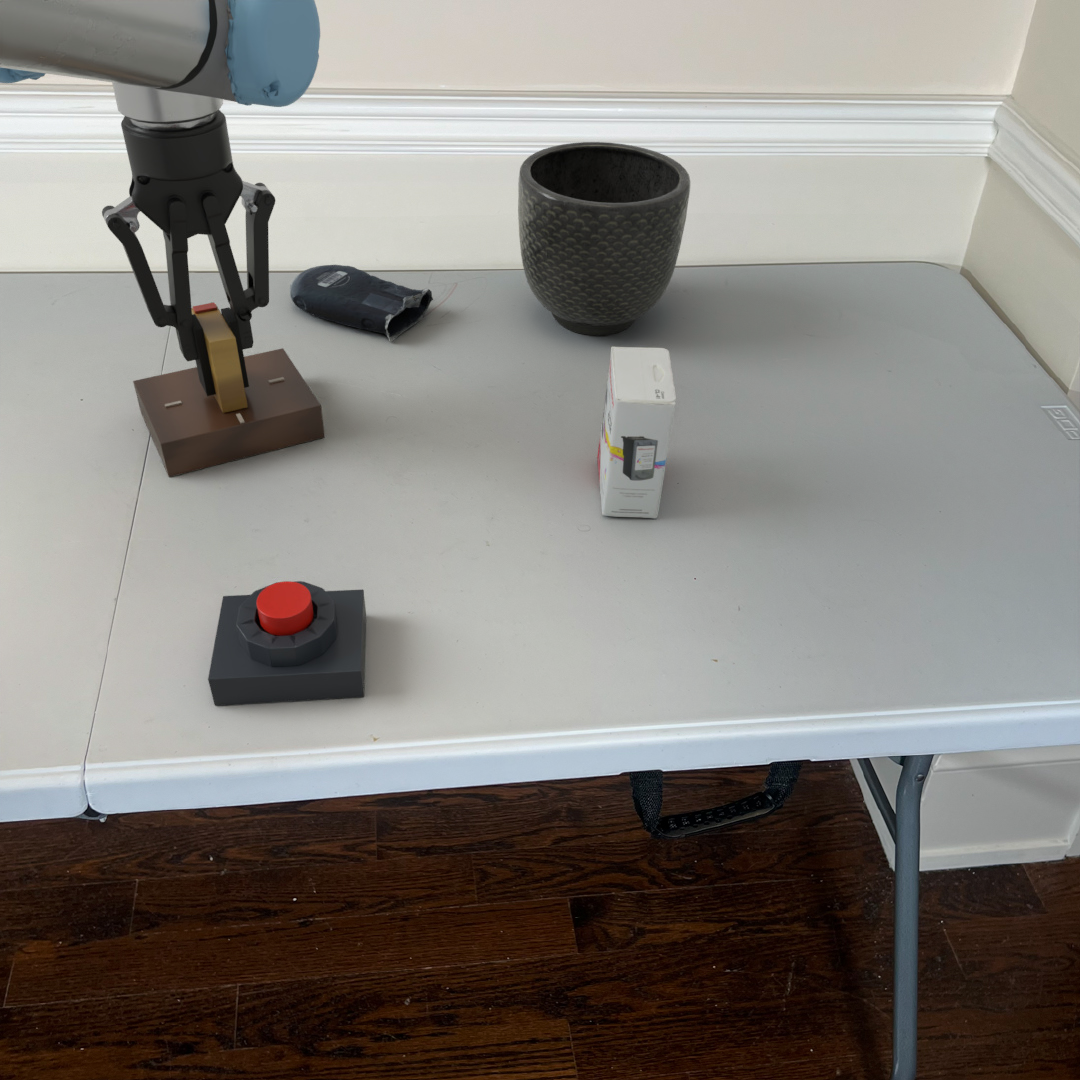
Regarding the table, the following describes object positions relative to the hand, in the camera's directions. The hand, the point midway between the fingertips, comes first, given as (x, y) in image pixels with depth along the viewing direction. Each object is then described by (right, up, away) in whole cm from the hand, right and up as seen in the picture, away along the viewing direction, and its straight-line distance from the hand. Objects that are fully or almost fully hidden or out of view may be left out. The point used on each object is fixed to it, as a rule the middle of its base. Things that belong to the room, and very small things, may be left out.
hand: (224, 383), depth 92 cm
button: (+11, -19, -21) cm, 31 cm away
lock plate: (0, -3, +3) cm, 4 cm away
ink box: (+36, -10, -2) cm, 37 cm away
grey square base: (+11, -22, -19) cm, 31 cm away
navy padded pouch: (+8, +11, +20) cm, 25 cm away
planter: (+34, +10, +21) cm, 42 cm away
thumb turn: (0, -1, +1) cm, 1 cm away
